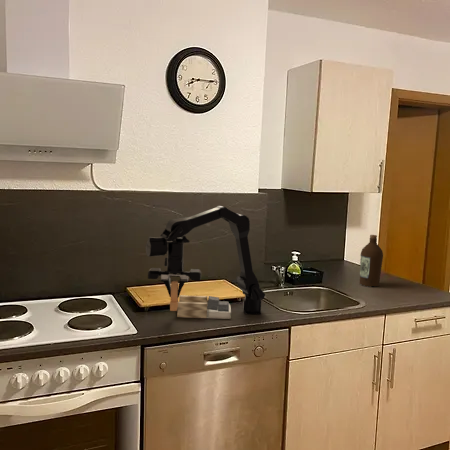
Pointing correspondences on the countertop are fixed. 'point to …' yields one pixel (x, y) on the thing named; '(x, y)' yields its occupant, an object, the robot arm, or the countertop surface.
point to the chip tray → (219, 314)
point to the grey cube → (213, 303)
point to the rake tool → (174, 296)
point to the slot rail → (192, 306)
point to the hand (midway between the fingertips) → (174, 297)
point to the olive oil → (371, 263)
